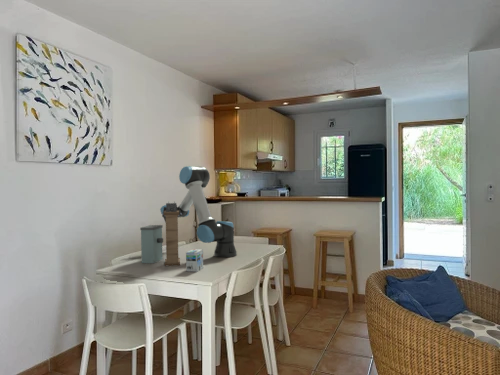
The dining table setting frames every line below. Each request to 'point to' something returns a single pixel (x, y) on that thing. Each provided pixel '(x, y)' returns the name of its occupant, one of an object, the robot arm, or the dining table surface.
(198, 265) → the light bulb box
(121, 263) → the dining table surface
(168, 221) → the tall stand
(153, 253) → the blue lidded container
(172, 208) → the crank handle
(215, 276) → the dining table surface
